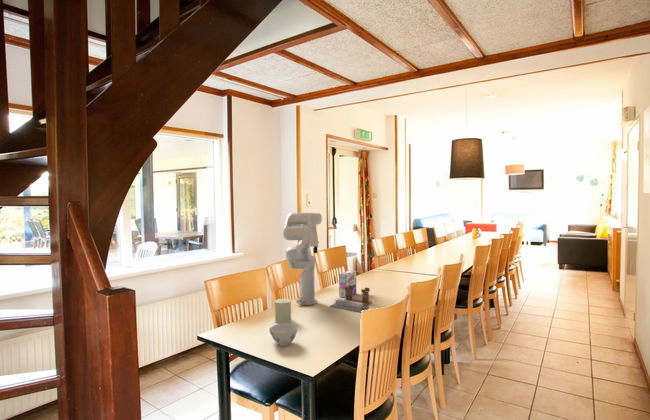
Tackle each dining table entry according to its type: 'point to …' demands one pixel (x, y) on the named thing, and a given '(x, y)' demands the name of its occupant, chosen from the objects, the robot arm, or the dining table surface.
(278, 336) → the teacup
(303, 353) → the dining table surface
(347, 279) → the candy box
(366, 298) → the cradle rack
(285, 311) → the can
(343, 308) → the rubber mat
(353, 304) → the steel rail
